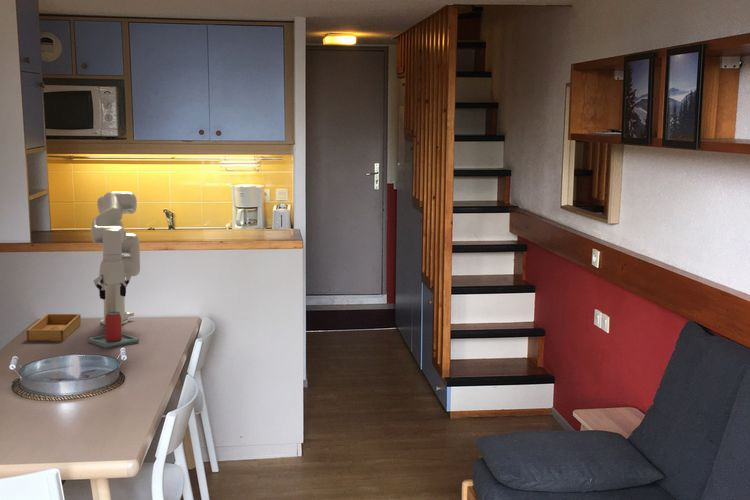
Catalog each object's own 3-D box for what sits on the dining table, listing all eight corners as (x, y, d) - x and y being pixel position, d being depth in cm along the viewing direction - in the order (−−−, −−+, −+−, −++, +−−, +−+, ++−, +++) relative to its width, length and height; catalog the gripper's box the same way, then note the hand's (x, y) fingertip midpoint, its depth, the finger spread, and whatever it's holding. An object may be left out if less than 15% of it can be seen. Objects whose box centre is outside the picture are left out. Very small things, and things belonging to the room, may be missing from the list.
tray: (63, 342, 352) (63, 329, 351) (26, 342, 350) (26, 329, 349) (81, 325, 382) (80, 313, 381) (47, 325, 380) (47, 313, 380)
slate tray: (119, 336, 362) (119, 332, 362) (138, 342, 353) (138, 338, 353) (88, 342, 351) (88, 338, 351) (107, 348, 341) (107, 344, 341)
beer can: (124, 339, 355) (123, 311, 353) (117, 342, 348) (117, 315, 347) (109, 338, 356) (109, 311, 354) (102, 341, 349) (102, 314, 348)
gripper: (125, 254, 356) (125, 293, 358) (88, 258, 343) (89, 298, 345) (135, 256, 351) (135, 296, 354) (98, 260, 338) (99, 301, 341)
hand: (112, 297), depth 349 cm, fingers open, 9 cm apart
